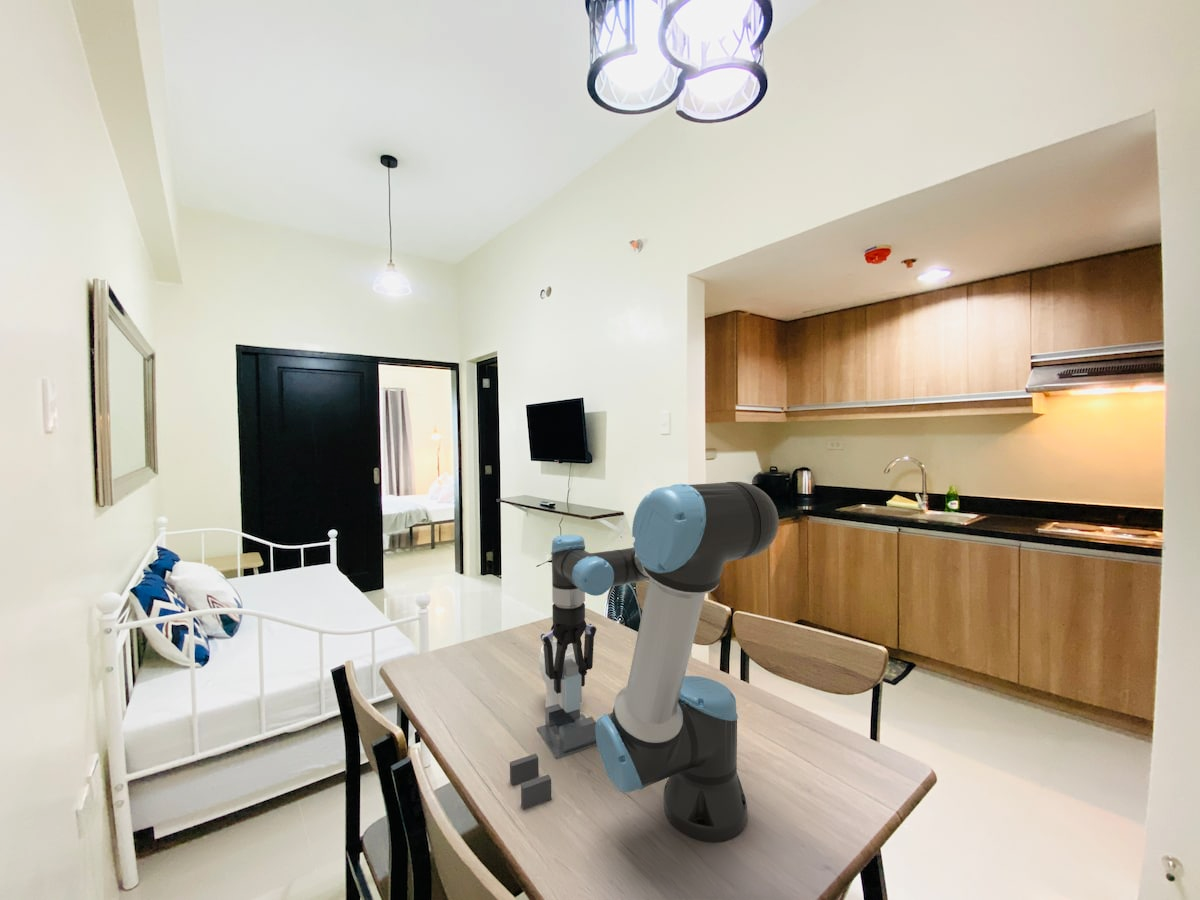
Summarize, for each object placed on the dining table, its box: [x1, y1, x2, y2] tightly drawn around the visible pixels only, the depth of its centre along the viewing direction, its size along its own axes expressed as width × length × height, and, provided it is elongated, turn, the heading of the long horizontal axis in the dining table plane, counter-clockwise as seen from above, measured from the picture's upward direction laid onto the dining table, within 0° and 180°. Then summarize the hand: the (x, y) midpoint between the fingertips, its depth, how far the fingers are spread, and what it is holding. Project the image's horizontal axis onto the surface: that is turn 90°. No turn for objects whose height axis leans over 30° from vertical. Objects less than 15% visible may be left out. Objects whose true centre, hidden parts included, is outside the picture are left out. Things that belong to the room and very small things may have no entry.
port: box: [536, 704, 597, 760], centre depth 111 cm, size 12×12×5 cm
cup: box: [538, 640, 576, 708], centre depth 124 cm, size 11×11×15 cm
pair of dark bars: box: [509, 753, 553, 811], centre depth 94 cm, size 8×6×4 cm, turn 28°
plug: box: [562, 658, 581, 713], centre depth 111 cm, size 5×4×10 cm
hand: (569, 702), depth 111 cm, fingers closed on plug, 3 cm apart
